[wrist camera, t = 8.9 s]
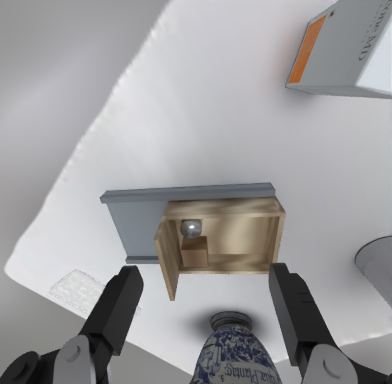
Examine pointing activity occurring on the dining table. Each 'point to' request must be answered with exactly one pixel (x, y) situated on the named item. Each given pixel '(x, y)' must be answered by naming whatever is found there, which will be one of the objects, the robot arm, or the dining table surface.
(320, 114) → the dining table surface
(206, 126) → the dining table surface
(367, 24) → the skincare box
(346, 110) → the dining table surface
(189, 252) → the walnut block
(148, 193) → the rail board
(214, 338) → the decorative vase
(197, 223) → the grey ball
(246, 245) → the wooden drawer
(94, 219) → the dining table surface
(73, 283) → the white flat textured slab
